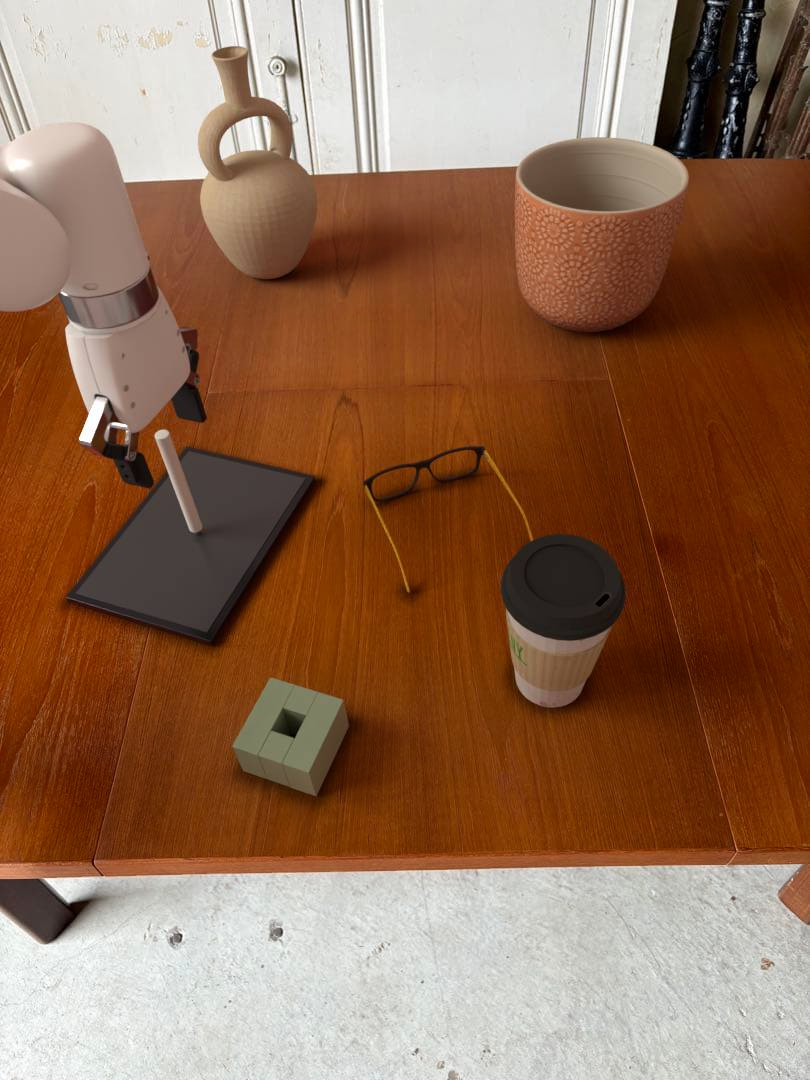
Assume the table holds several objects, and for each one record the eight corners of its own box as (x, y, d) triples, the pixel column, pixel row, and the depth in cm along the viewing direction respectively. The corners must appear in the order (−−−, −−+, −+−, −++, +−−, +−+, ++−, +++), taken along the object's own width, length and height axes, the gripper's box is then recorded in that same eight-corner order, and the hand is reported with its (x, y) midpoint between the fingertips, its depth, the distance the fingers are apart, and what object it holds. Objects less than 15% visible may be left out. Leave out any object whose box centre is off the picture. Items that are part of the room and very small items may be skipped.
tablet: (68, 602, 83) (64, 596, 83) (188, 451, 98) (186, 445, 97) (212, 646, 79) (210, 640, 78) (316, 481, 93) (314, 475, 93)
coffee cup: (541, 616, 79) (554, 509, 68) (626, 676, 74) (655, 572, 63) (473, 679, 75) (475, 576, 64) (558, 747, 70) (576, 649, 59)
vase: (254, 310, 118) (205, 87, 95) (198, 267, 127) (142, 53, 104) (347, 268, 124) (321, 49, 102) (287, 230, 133) (252, 21, 111)
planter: (690, 329, 109) (725, 189, 95) (550, 368, 105) (564, 228, 91) (612, 257, 122) (632, 124, 108) (485, 288, 118) (488, 155, 104)
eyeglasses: (480, 465, 94) (480, 439, 91) (536, 553, 84) (539, 527, 81) (363, 500, 91) (359, 474, 88) (408, 595, 82) (406, 569, 79)
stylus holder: (242, 771, 70) (231, 746, 67) (279, 703, 74) (270, 676, 71) (316, 796, 68) (308, 772, 65) (349, 725, 72) (343, 699, 69)
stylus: (188, 536, 87) (151, 437, 77) (195, 527, 88) (159, 428, 78) (200, 539, 87) (164, 440, 76) (206, 529, 88) (172, 430, 77)
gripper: (130, 235, 72) (180, 389, 85) (3, 345, 62) (81, 502, 74) (203, 246, 70) (243, 402, 83) (84, 362, 60) (151, 521, 72)
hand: (166, 450), depth 79 cm, fingers open, 9 cm apart
